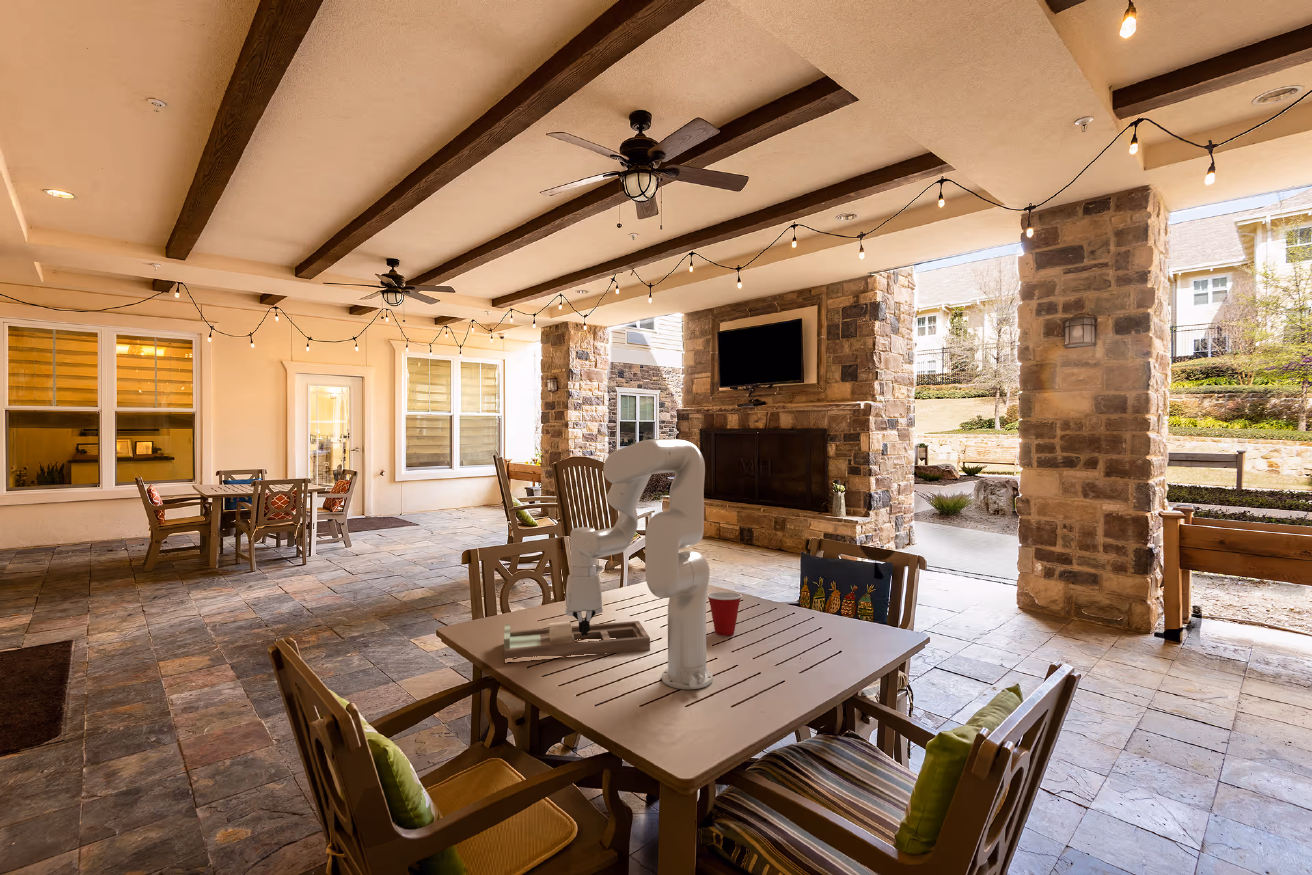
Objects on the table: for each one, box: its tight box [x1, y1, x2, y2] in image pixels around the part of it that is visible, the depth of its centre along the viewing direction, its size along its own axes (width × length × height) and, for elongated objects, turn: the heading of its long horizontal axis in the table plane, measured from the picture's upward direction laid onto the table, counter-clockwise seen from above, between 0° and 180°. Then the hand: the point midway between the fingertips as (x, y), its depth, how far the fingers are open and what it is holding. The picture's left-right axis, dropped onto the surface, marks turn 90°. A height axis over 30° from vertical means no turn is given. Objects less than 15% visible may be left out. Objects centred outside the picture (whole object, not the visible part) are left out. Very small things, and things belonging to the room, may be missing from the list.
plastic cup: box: [706, 591, 743, 637], centre depth 182 cm, size 11×11×12 cm
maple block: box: [548, 621, 572, 644], centre depth 169 cm, size 6×6×4 cm
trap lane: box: [503, 620, 651, 660], centre depth 170 cm, size 16×40×6 cm, turn 103°
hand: (584, 634), depth 171 cm, fingers closed
